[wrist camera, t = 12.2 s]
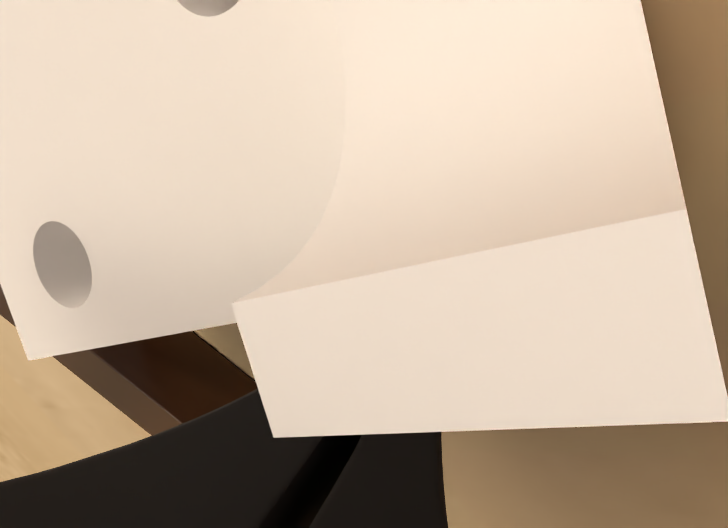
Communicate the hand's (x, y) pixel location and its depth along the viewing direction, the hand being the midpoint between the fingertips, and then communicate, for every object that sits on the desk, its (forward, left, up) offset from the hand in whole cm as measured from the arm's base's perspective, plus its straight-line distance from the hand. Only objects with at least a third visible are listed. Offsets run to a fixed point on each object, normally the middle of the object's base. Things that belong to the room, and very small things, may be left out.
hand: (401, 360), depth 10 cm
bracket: (+6, -2, -3) cm, 7 cm away
